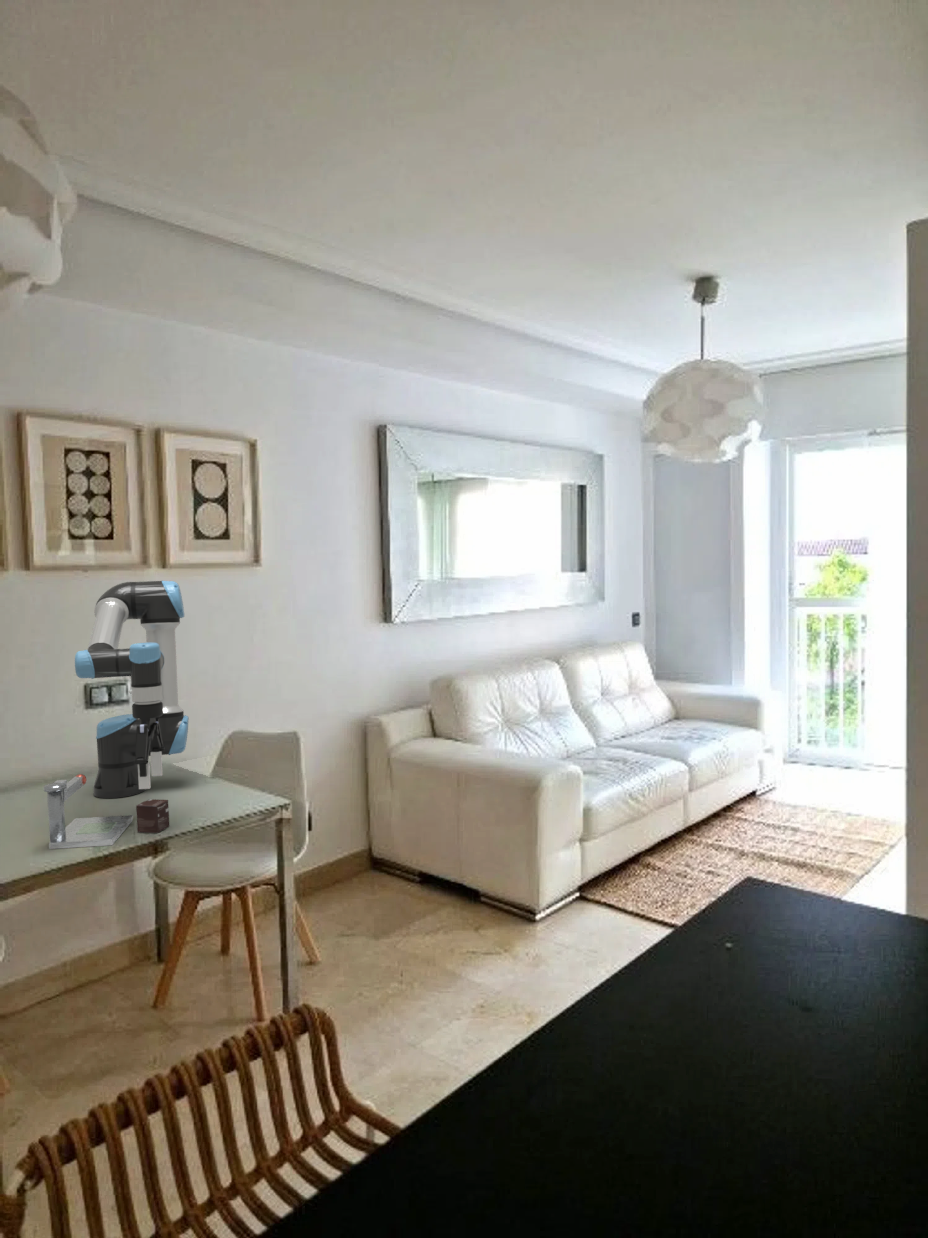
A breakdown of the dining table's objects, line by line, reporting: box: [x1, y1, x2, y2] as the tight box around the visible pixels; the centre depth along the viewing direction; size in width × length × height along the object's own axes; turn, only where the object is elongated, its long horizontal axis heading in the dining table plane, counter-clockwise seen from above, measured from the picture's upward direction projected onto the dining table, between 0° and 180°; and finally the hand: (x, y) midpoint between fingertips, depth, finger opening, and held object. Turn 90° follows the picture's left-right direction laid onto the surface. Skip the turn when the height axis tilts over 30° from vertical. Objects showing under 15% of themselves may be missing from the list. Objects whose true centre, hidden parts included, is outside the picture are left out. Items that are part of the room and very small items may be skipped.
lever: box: [43, 773, 87, 803], centre depth 220 cm, size 23×5×5 cm, turn 7°
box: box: [135, 798, 170, 834], centre depth 223 cm, size 6×6×7 cm
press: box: [46, 790, 134, 850], centre depth 220 cm, size 20×15×14 cm
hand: (151, 782), depth 222 cm, fingers open, 13 cm apart
